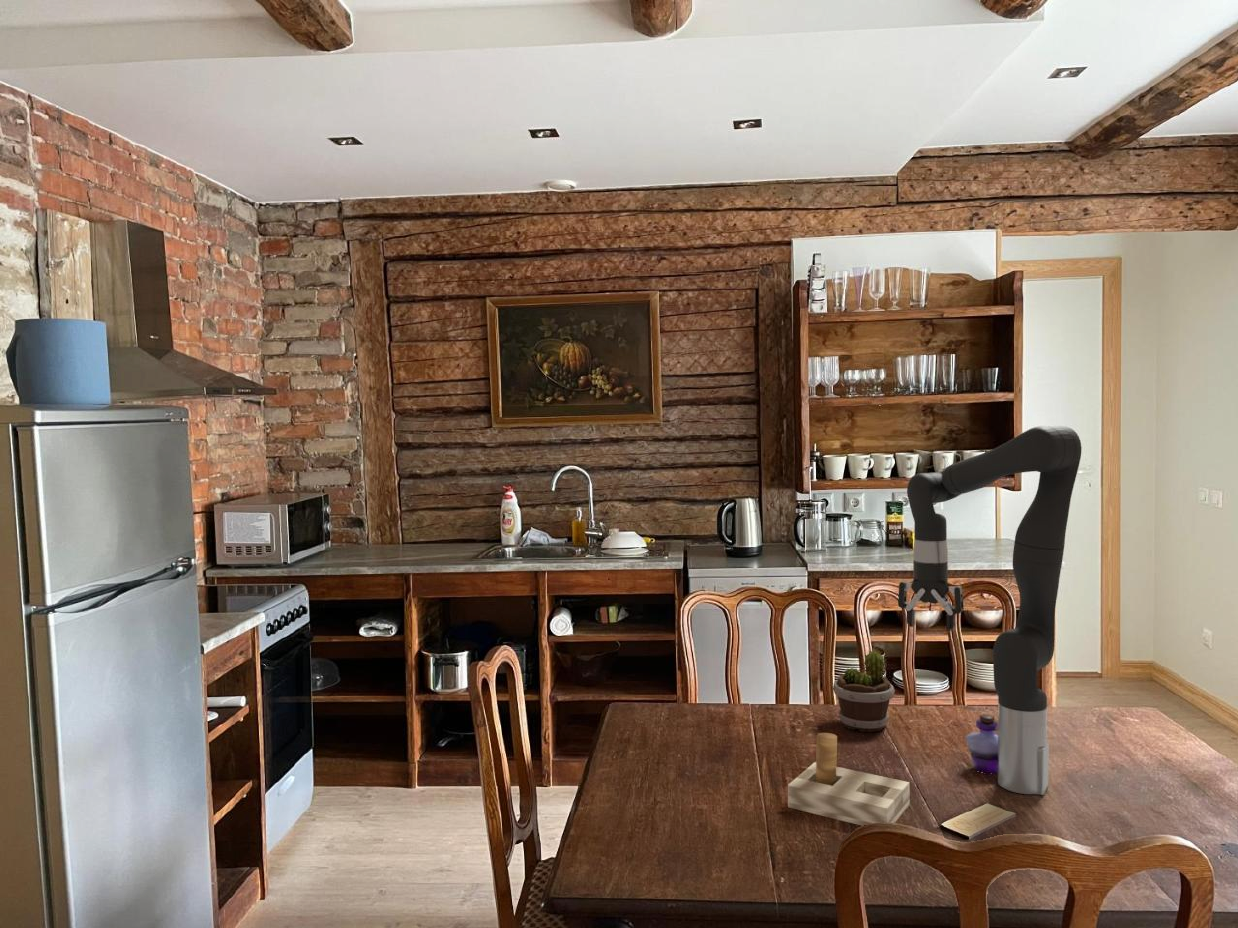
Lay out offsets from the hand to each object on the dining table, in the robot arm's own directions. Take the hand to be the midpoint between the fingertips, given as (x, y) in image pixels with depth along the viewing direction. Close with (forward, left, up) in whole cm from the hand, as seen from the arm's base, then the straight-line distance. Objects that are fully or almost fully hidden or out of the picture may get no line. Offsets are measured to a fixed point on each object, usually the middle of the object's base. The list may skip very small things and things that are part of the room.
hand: (930, 628), depth 208 cm
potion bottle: (-14, +7, -28) cm, 32 cm away
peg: (+10, +40, -27) cm, 49 cm away
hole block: (+5, +40, -28) cm, 49 cm away
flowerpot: (+18, -6, -28) cm, 34 cm away
